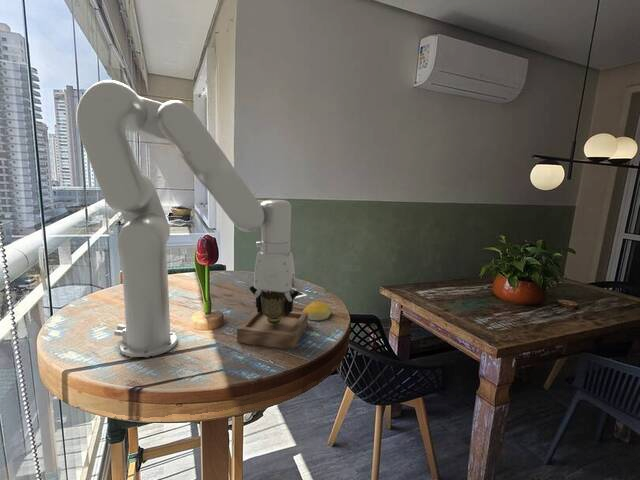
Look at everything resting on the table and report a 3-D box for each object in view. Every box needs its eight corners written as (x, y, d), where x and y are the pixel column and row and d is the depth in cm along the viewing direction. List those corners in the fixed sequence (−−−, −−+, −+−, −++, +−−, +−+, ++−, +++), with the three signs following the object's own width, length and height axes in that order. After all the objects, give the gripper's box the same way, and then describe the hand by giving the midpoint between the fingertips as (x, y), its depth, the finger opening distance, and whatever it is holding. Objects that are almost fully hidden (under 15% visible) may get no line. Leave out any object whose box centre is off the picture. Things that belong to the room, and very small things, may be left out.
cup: (261, 316, 96) (261, 288, 95) (287, 316, 97) (288, 289, 95) (258, 327, 89) (258, 298, 87) (287, 327, 89) (287, 298, 88)
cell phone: (283, 285, 136) (283, 283, 136) (307, 296, 124) (307, 295, 124) (265, 288, 131) (265, 287, 131) (289, 301, 119) (289, 299, 119)
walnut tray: (237, 343, 88) (237, 328, 87) (258, 320, 102) (258, 307, 101) (293, 351, 85) (294, 335, 84) (307, 326, 99) (307, 312, 99)
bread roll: (298, 318, 104) (299, 306, 103) (310, 308, 112) (310, 297, 111) (324, 323, 101) (324, 311, 100) (334, 313, 109) (334, 301, 108)
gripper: (238, 247, 87) (238, 313, 90) (304, 253, 84) (302, 321, 87) (249, 242, 94) (249, 303, 97) (311, 247, 91) (308, 310, 94)
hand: (274, 311), depth 92 cm, fingers closed on cup, 7 cm apart
